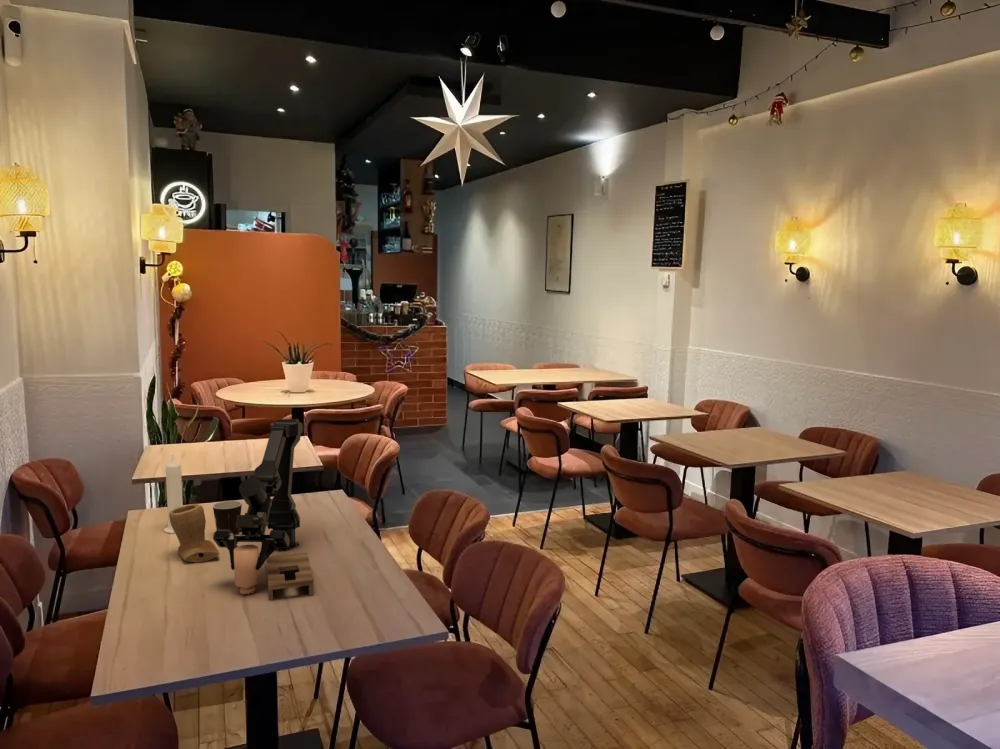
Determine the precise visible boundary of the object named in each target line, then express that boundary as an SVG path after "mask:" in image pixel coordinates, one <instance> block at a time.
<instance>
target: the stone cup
mask: <svg viewBox="0 0 1000 749" xmlns="http://www.w3.org/2000/svg"><path fill="white" fill-rule="evenodd" d="M169 517H170V523H171V526H172V528H173V530H174V532H175V534H174V535H175V536H176V537H177V539H178V541H179V546H178V548H177V552H178V554H179V555H180V556H181V558H182V559H183V560H184V561H187V562H191V563H192V562H193V563H202V562H203V563H204V562H207V561H211V560H213V559H214V558H217V557H218V556H219V555H220V551H219V550H218V548H217V546H216V545H215V544H214V543H213V541H211V540H207V539H206V533H205V530H206V523H207V522H206V514H205V511H204V507H203V506H202V505H201V504H199V503H192V504H191V503H190V504H185V505H183V506H182V507H178V508H175V509H173V510H172V511H171V512H170V513H169Z"/></svg>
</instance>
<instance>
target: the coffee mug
mask: <svg viewBox="0 0 1000 749" xmlns="http://www.w3.org/2000/svg"><path fill="white" fill-rule="evenodd" d="M212 510H213V516H214V522H215V528H216V531H217V530H218V529H226V530H231V531H232V533H233V534H240V531H239V527H238V528H236V522H237V515H242V514H241V513H242V502H241V501H238V500H224V501H223V500H222V501H219V502H216V503H214V504H212Z"/></svg>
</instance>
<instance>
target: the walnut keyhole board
mask: <svg viewBox="0 0 1000 749" xmlns="http://www.w3.org/2000/svg"><path fill="white" fill-rule="evenodd" d="M295 570H297V572H294V577H295V579H291V580H290V579H289V580H286V579H285V578H286V577H285V573H280V572H287V571H295ZM266 576H267V577H266V578H267V593H268V601H269V600H271V601H273V600H274V595H273V594H274V591H273V590H280V589H290V588H296V587H297V588H299V587H304V586H305V587H306V586H307V590H309V591H308V595H310V596H314V578H313V573H312V568H311V565H310V560H309V554H308V552H303V553H301V552H300V553H294V554H283V555H282V554H281V555H273V556H269V557H268V558H267V559H266Z"/></svg>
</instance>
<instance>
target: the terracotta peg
mask: <svg viewBox="0 0 1000 749" xmlns="http://www.w3.org/2000/svg"><path fill="white" fill-rule="evenodd" d="M258 557H259V546H258V545H255V544H243V545H240V546H239V545H238V547H236V548H235V549H234V570H233V572H234V585H235V586H236V587H238V588H239V587H240V588H239V592H240V594H241V593H242V594H241V595H243V594H248V595H251V594H250V593H252V592H254V591H255V592H256V587H255V585H257V584H259V583H260V569H259V570H256V565H257V561H258ZM255 592H254V593H255ZM252 594H253V593H252Z"/></svg>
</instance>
